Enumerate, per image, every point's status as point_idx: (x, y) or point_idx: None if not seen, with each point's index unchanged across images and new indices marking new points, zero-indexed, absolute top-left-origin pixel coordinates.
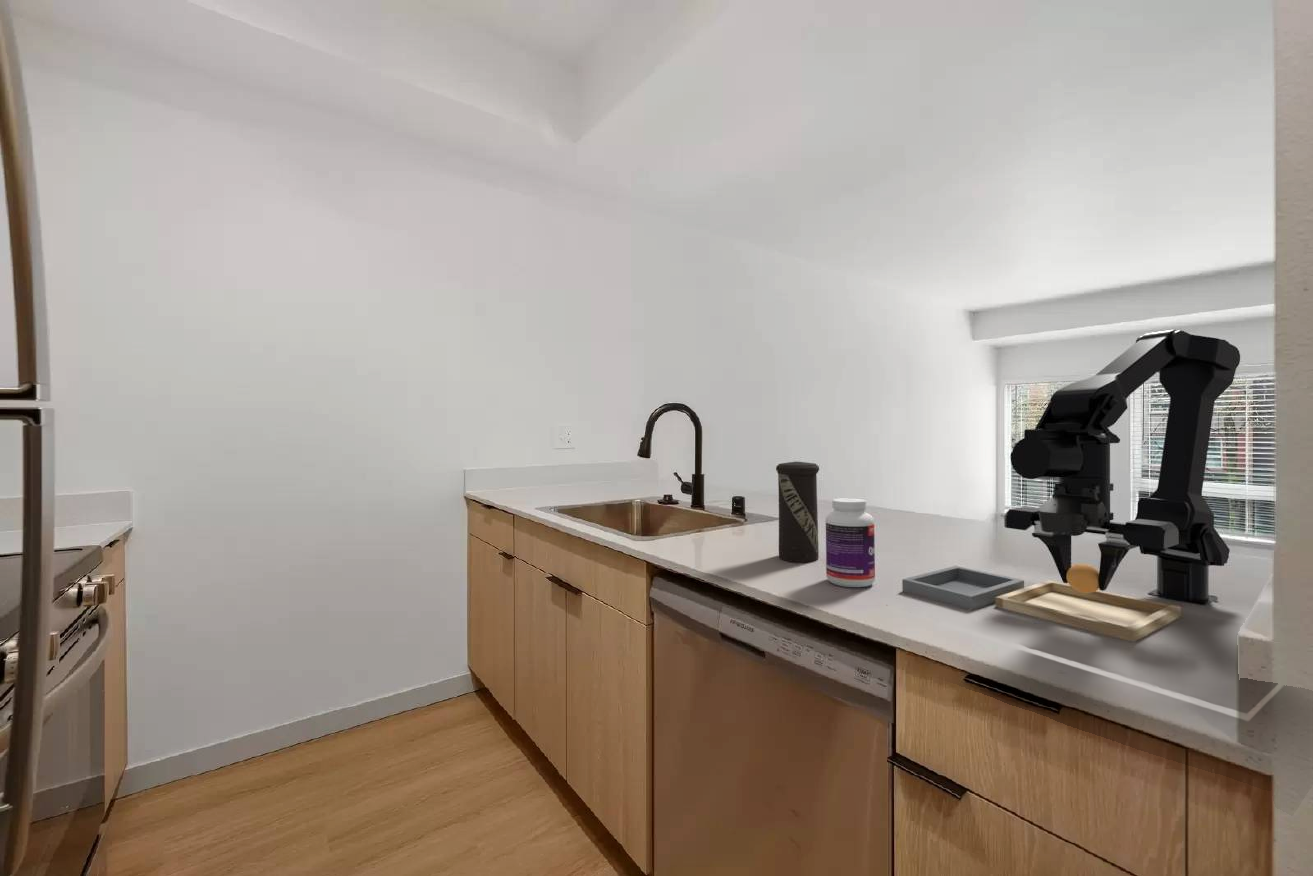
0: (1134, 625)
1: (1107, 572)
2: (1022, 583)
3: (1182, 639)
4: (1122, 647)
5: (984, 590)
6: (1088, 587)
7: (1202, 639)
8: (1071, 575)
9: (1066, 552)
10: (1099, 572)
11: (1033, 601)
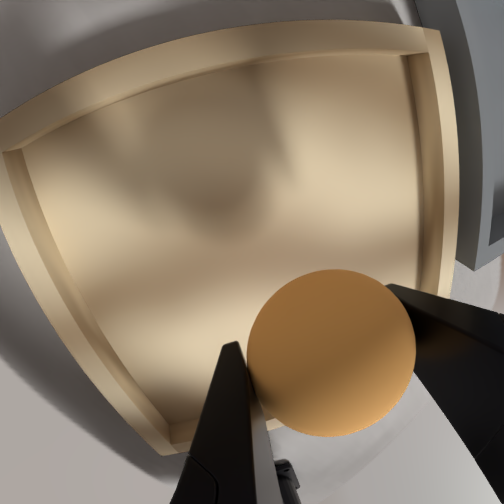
0: (8, 200)
1: (199, 432)
2: (469, 258)
3: (33, 325)
4: (5, 87)
5: (473, 35)
6: (267, 302)
7: (37, 363)
8: (374, 294)
9: (481, 410)
10: (248, 411)
11: (406, 198)
